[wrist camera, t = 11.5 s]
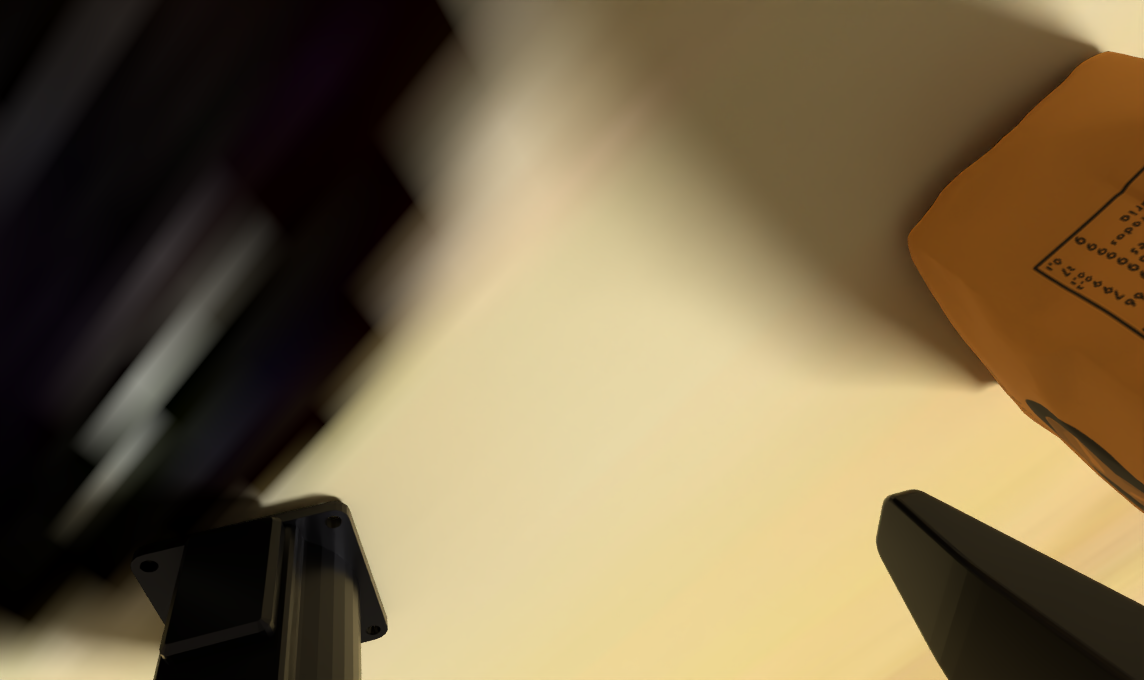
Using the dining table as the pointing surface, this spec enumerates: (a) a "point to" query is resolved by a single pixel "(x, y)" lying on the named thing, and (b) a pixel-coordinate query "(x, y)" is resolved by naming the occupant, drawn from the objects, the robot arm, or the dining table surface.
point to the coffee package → (1057, 265)
